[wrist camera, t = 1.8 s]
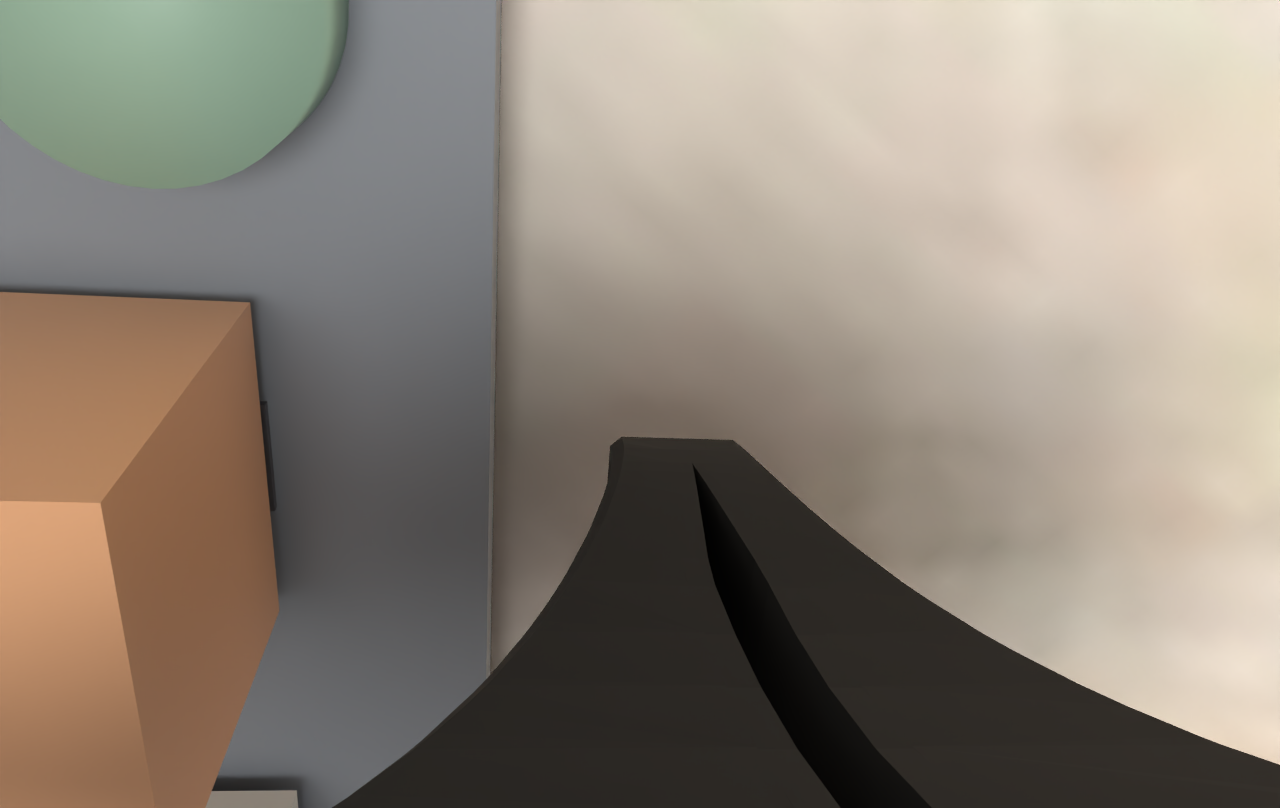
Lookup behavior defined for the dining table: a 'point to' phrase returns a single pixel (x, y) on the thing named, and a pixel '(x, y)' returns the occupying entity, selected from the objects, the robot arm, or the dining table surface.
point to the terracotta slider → (128, 547)
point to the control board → (300, 312)
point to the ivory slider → (253, 799)
